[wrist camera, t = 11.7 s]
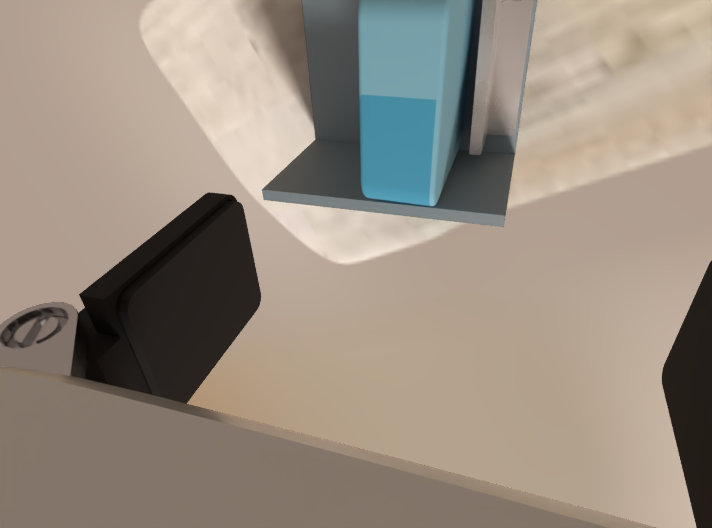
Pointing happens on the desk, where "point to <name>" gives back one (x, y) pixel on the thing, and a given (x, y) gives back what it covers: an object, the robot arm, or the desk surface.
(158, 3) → the desk surface
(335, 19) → the l-shaped stand
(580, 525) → the robot arm
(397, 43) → the data package
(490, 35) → the bookend
